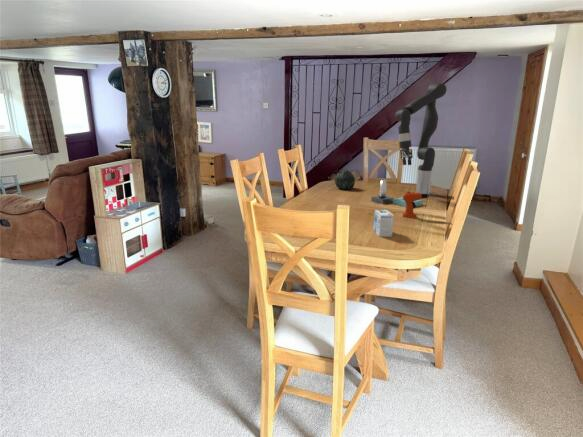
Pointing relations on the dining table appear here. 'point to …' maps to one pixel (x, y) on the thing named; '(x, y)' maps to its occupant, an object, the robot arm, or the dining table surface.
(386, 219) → the light bulb box
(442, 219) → the dining table surface
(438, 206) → the dining table surface
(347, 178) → the squash
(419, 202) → the block
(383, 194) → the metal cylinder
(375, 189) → the dining table surface
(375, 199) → the socket block
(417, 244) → the dining table surface
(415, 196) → the toy drill
